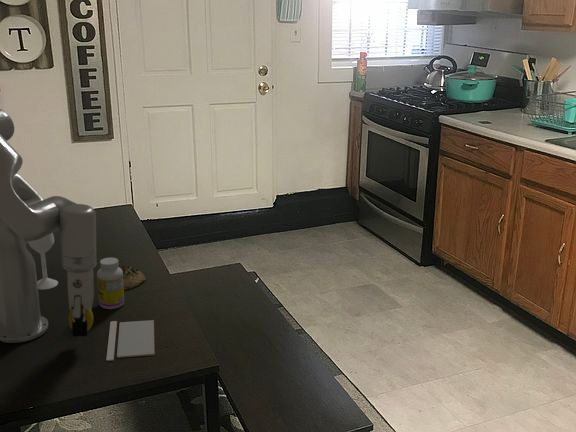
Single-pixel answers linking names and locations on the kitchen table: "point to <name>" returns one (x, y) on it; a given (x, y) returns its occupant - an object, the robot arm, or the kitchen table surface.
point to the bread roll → (131, 277)
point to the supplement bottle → (110, 284)
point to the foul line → (111, 341)
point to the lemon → (88, 317)
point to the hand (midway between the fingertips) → (81, 327)
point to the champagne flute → (44, 260)
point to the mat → (136, 339)
